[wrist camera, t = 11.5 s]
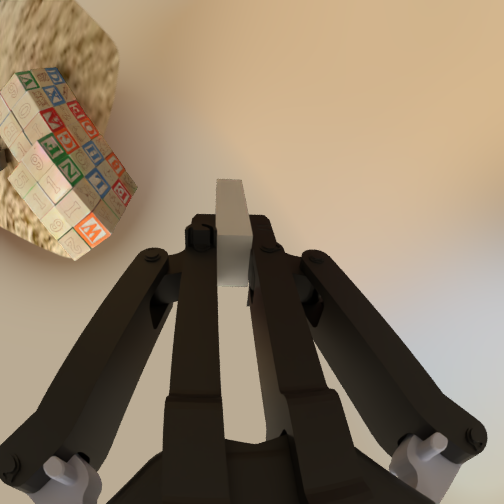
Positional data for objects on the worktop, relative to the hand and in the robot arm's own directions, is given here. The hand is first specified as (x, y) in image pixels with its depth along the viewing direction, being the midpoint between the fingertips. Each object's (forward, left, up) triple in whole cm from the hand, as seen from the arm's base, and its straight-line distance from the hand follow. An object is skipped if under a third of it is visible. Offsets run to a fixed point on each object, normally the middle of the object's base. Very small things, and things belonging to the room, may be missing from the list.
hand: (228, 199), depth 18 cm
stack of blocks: (0, -19, -19) cm, 27 cm away
